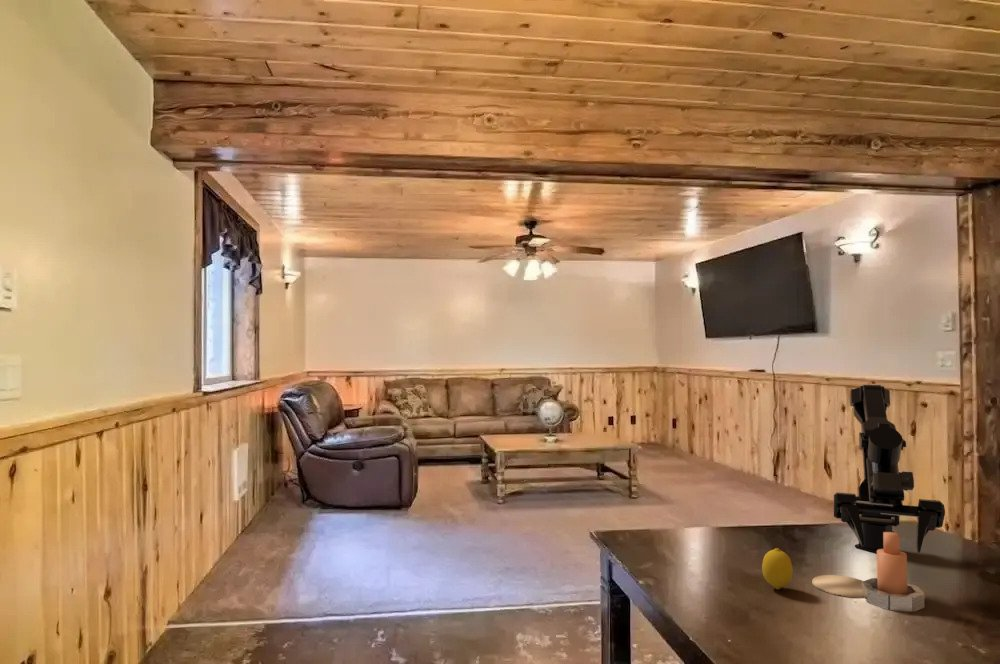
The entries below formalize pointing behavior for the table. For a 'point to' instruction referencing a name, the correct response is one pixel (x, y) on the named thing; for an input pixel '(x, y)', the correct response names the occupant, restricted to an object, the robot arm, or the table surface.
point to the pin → (892, 566)
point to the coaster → (839, 585)
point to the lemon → (777, 568)
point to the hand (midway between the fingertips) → (890, 548)
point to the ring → (893, 597)
